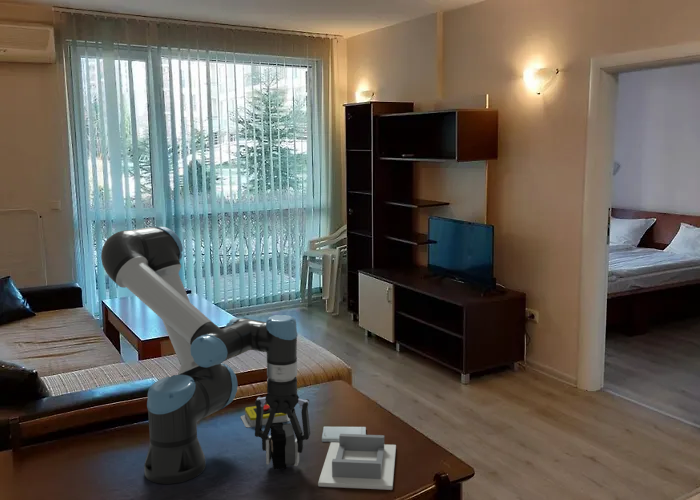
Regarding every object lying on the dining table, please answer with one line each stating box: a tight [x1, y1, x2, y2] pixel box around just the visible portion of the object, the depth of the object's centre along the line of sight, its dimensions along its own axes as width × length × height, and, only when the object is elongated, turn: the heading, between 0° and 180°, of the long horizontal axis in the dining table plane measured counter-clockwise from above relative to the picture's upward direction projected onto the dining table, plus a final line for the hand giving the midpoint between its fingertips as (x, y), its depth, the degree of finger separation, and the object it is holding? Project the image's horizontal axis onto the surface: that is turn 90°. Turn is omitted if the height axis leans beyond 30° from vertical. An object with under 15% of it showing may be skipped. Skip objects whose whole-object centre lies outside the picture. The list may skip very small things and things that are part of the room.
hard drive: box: [321, 426, 367, 443], centre depth 182 cm, size 2×8×12 cm
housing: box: [317, 434, 397, 491], centre depth 163 cm, size 18×22×5 cm
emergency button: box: [240, 403, 290, 429], centre depth 194 cm, size 9×4×15 cm
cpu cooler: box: [270, 422, 296, 471], centre depth 162 cm, size 10×6×10 cm, turn 12°
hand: (282, 462), depth 163 cm, fingers closed on cpu cooler, 7 cm apart
